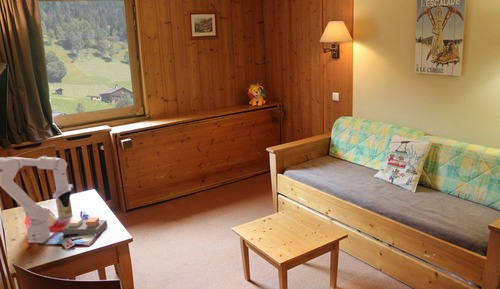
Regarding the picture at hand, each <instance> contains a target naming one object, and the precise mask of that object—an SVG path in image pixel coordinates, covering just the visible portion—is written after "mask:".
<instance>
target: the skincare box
mask: <svg viewBox="0 0 500 289" xmlns="http://www.w3.org/2000/svg"><path fill="white" fill-rule="evenodd" d="M55 204H56V210H57V216H58V217H59V218H60V219H64V218H67V217H71V216H73V210H72V203H71V197H70V198H69V206H68V207H63V205H62V203H61V201H60V200H59V199H55Z"/></svg>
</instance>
